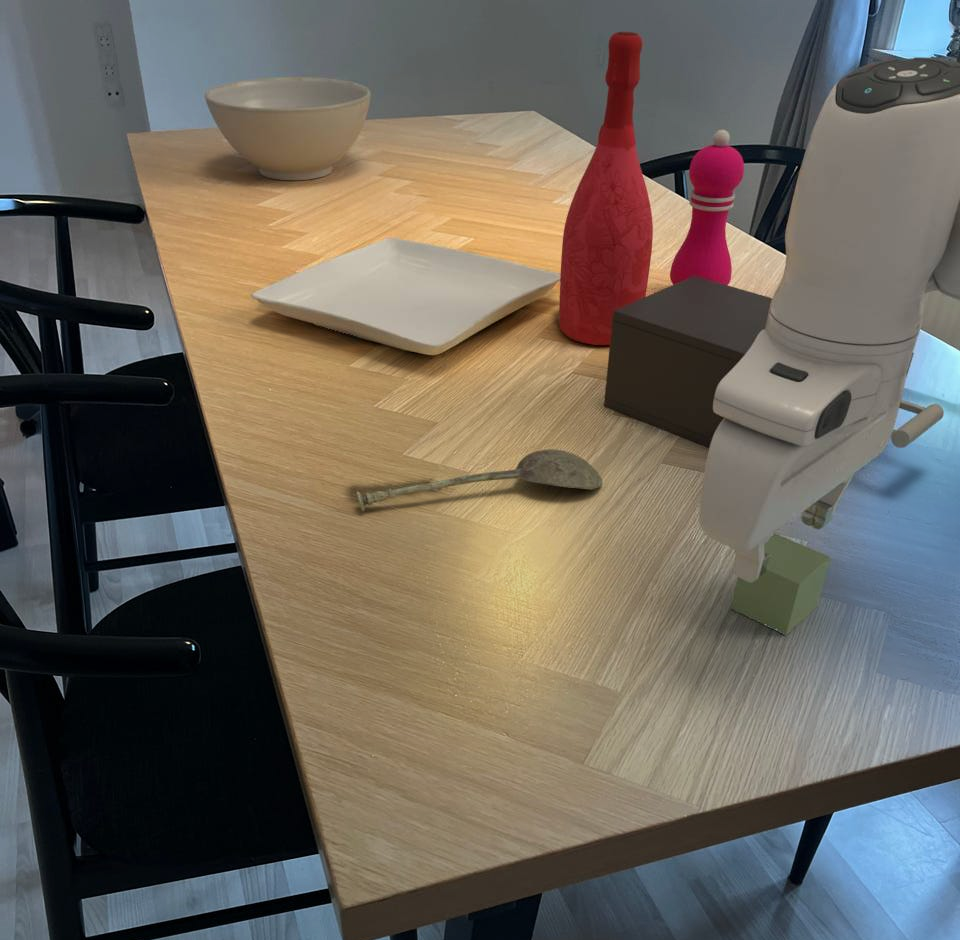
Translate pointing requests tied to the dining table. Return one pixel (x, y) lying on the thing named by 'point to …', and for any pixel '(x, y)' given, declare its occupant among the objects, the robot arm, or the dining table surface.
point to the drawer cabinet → (680, 353)
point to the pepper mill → (709, 213)
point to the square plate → (408, 294)
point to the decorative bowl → (290, 122)
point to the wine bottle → (608, 214)
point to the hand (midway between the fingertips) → (783, 548)
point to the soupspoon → (515, 475)
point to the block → (783, 585)
